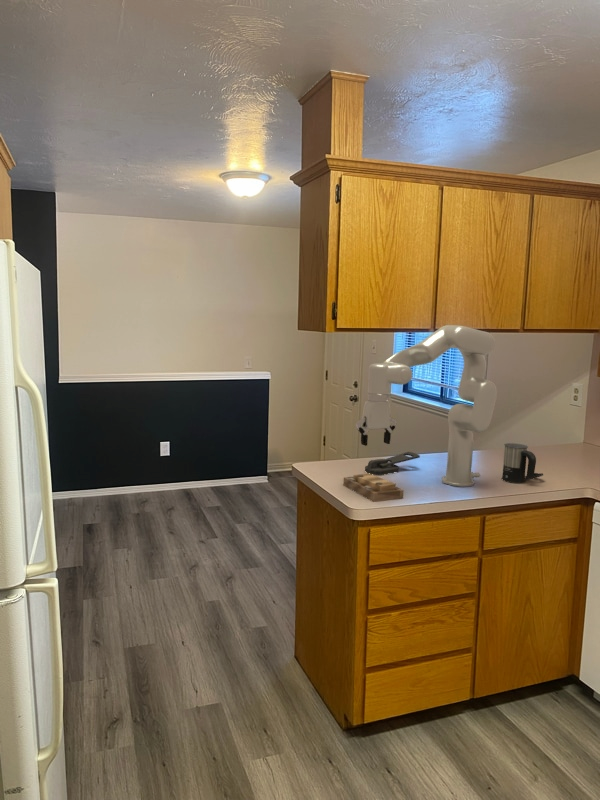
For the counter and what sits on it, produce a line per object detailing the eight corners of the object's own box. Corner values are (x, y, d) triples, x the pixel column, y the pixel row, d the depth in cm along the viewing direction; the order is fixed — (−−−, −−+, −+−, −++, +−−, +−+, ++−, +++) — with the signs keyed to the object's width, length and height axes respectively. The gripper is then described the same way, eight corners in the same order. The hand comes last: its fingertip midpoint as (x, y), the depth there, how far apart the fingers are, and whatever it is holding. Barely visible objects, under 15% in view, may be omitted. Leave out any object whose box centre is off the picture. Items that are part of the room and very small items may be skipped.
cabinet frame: (343, 485, 230) (343, 475, 229) (371, 482, 235) (371, 472, 235) (373, 501, 211) (374, 491, 210) (403, 498, 216) (403, 488, 215)
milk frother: (497, 480, 247) (500, 444, 245) (512, 473, 259) (515, 439, 257) (532, 487, 238) (535, 450, 236) (545, 480, 250) (549, 445, 248)
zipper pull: (422, 455, 257) (375, 460, 244) (421, 470, 258) (374, 476, 245) (408, 450, 264) (362, 455, 252) (407, 465, 265) (361, 471, 252)
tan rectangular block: (352, 485, 227) (353, 474, 227) (367, 483, 231) (368, 472, 230) (379, 496, 214) (380, 485, 213) (395, 494, 217) (395, 483, 217)
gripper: (392, 395, 225) (389, 440, 227) (352, 397, 218) (349, 443, 220) (403, 398, 218) (401, 444, 221) (362, 400, 211) (360, 447, 213)
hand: (375, 444), depth 220 cm, fingers open, 9 cm apart
